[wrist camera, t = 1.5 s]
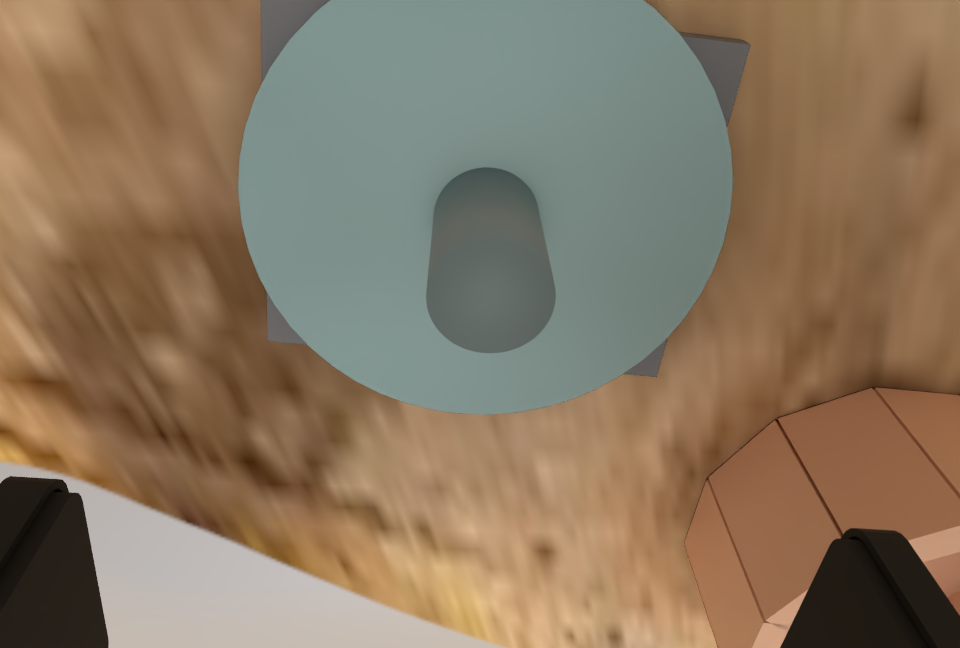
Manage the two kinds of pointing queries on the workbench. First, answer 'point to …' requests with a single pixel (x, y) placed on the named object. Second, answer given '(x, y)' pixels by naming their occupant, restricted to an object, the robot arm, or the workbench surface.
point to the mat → (721, 58)
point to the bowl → (825, 505)
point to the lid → (485, 194)
